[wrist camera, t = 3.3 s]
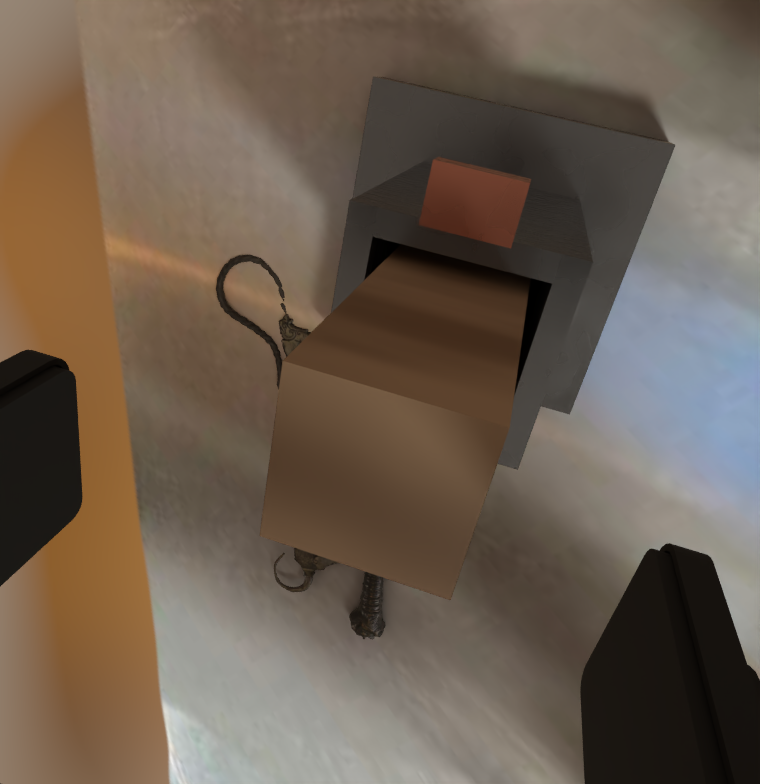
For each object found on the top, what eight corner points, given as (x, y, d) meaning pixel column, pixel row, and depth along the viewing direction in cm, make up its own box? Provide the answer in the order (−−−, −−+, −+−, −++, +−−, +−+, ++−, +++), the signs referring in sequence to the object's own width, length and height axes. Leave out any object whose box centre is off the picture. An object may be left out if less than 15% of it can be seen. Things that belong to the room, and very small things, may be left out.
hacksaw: (386, 633, 41) (381, 651, 39) (240, 599, 43) (230, 615, 42) (412, 271, 30) (406, 279, 29) (217, 249, 32) (202, 256, 31)
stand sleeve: (569, 400, 30) (576, 579, 19) (337, 334, 32) (220, 464, 21) (668, 142, 25) (760, 184, 14) (382, 77, 26) (254, 67, 15)
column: (511, 318, 27) (454, 605, 12) (419, 293, 28) (254, 538, 13) (541, 224, 25) (517, 424, 10) (441, 199, 26) (278, 354, 11)
